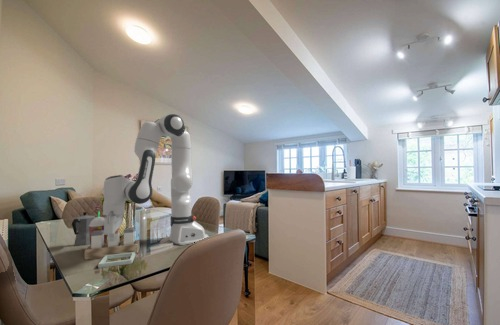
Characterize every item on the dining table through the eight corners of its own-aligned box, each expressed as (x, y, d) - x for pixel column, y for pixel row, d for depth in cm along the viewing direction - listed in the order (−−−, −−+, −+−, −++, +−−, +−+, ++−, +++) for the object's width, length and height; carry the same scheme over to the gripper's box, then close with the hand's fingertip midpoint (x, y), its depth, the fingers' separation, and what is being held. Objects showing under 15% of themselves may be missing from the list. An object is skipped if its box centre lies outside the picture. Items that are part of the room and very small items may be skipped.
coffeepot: (84, 241, 131) (84, 210, 132) (100, 241, 131) (101, 209, 132) (62, 250, 116) (63, 215, 116) (81, 250, 116) (82, 215, 117)
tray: (135, 258, 104) (135, 251, 104) (131, 267, 95) (131, 259, 95) (105, 262, 100) (105, 255, 100) (98, 271, 91) (98, 264, 91)
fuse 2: (134, 249, 111) (134, 227, 112) (133, 252, 107) (133, 229, 108) (125, 251, 110) (125, 228, 110) (123, 253, 106) (123, 230, 106)
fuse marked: (119, 251, 109) (119, 228, 110) (117, 254, 105) (117, 230, 106) (109, 252, 108) (110, 229, 108) (107, 255, 104) (107, 231, 104)
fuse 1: (104, 253, 107) (104, 229, 107) (101, 256, 103) (101, 232, 104) (93, 254, 106) (94, 230, 106) (90, 257, 102) (91, 232, 102)
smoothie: (90, 250, 116) (91, 210, 117) (109, 247, 119) (110, 209, 120) (86, 255, 108) (86, 213, 109) (106, 253, 112) (107, 212, 113)
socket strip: (139, 251, 113) (139, 240, 113) (137, 256, 107) (137, 244, 107) (89, 257, 106) (90, 245, 107) (84, 263, 100) (84, 250, 100)
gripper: (116, 213, 98) (116, 245, 98) (125, 206, 118) (125, 233, 117) (99, 214, 96) (99, 247, 96) (111, 207, 116) (111, 234, 115)
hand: (113, 239), depth 107 cm, fingers closed on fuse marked, 4 cm apart
